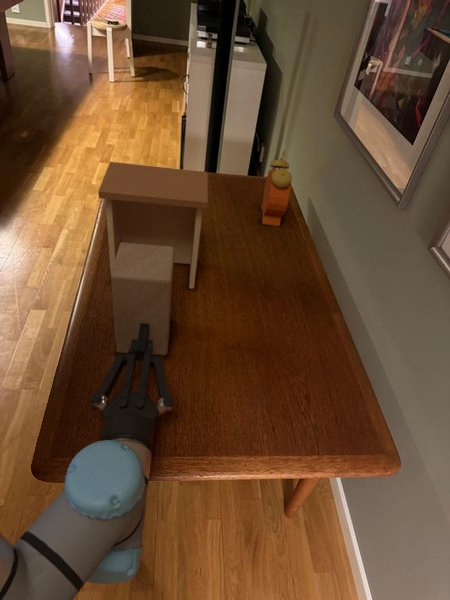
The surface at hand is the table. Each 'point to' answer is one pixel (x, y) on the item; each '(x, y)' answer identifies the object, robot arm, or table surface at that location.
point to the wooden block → (142, 294)
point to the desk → (155, 209)
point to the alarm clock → (276, 192)
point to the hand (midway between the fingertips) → (144, 328)
